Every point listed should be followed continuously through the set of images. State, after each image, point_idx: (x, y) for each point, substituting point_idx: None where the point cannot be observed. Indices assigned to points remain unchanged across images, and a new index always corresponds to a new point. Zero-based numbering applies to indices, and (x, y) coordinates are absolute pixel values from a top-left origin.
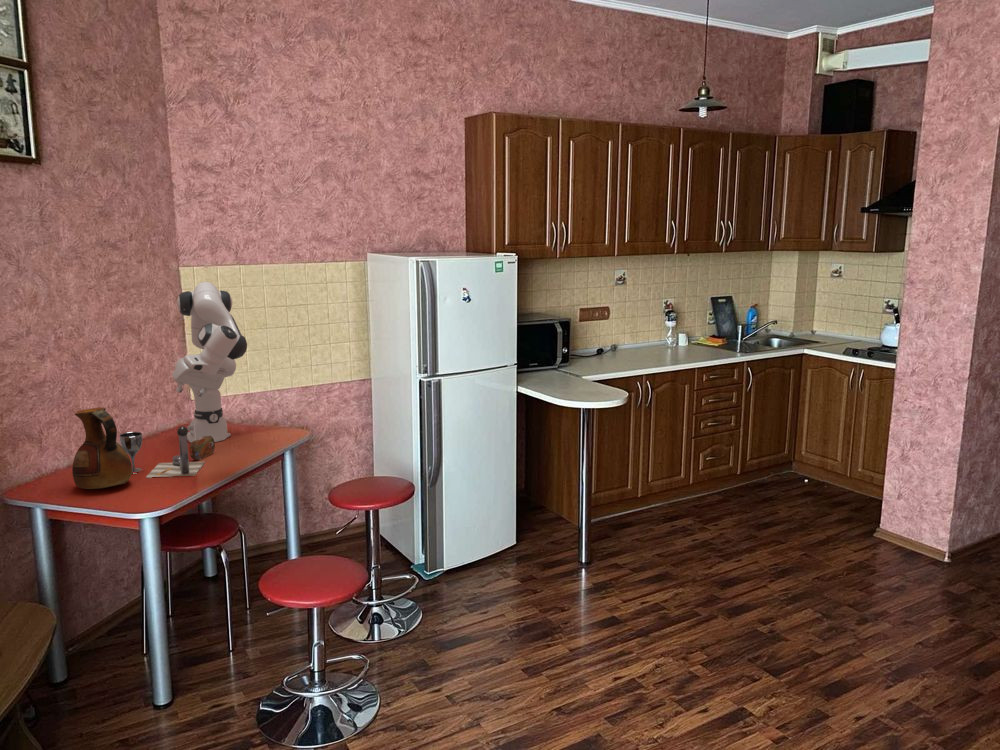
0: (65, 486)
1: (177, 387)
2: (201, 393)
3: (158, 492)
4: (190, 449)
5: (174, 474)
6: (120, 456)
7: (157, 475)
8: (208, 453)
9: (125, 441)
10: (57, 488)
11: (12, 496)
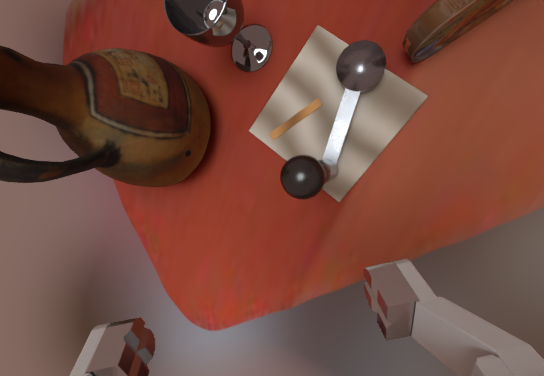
0: None
1: (80, 360)
2: (399, 336)
3: (234, 245)
4: (406, 40)
5: None
6: (142, 169)
7: (271, 139)
8: (491, 9)
9: (181, 31)
10: None
11: None
